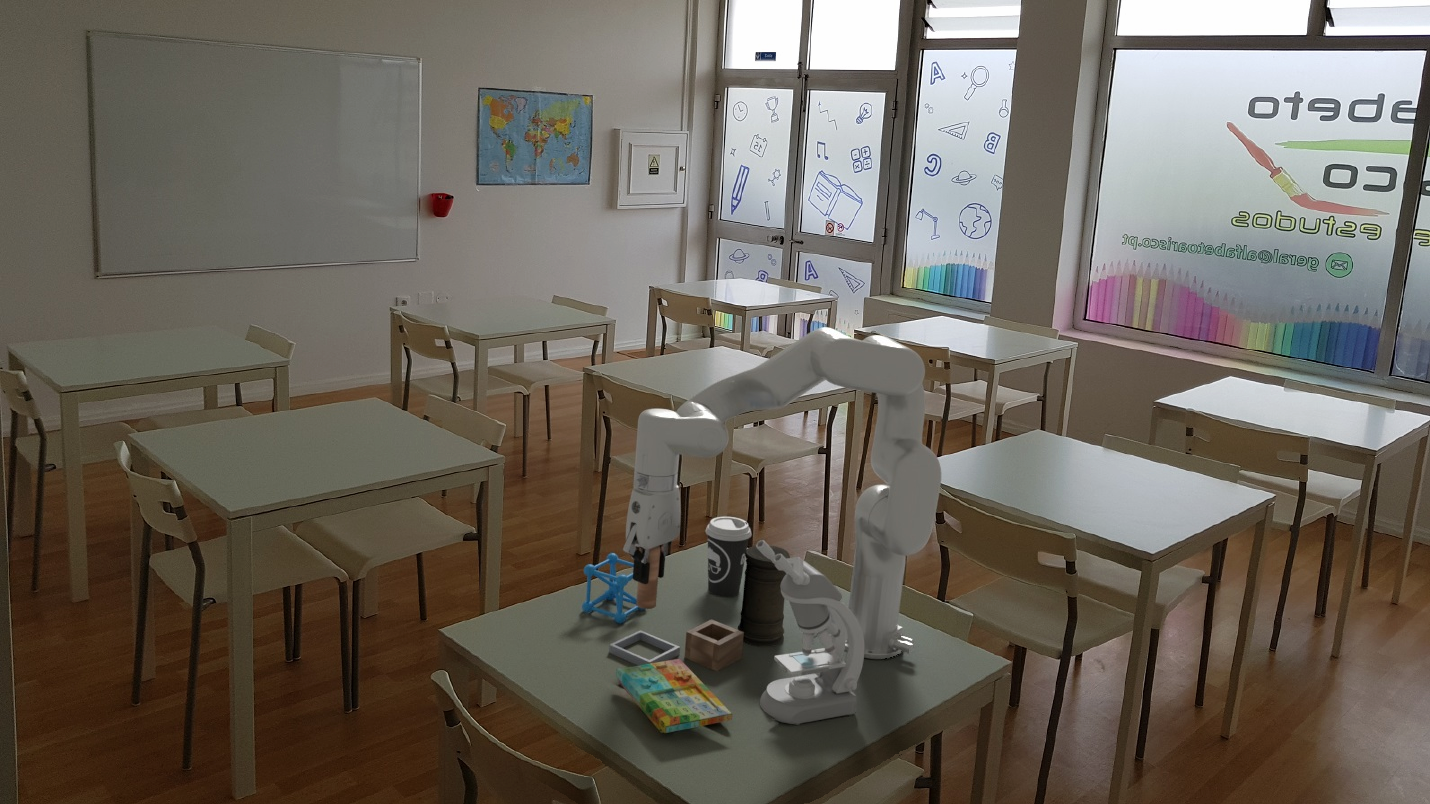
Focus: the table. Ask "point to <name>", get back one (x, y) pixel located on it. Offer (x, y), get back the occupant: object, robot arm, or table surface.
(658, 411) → the robot arm
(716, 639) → the pin cup
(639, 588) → the dowel
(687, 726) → the puzzle game
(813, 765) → the table surface
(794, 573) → the microscope
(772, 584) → the container
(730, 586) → the coffee cup
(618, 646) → the tray
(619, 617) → the molecular structure
